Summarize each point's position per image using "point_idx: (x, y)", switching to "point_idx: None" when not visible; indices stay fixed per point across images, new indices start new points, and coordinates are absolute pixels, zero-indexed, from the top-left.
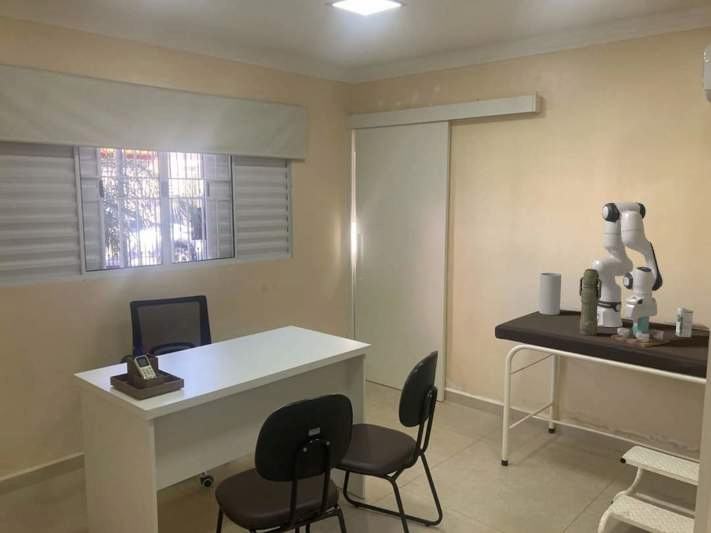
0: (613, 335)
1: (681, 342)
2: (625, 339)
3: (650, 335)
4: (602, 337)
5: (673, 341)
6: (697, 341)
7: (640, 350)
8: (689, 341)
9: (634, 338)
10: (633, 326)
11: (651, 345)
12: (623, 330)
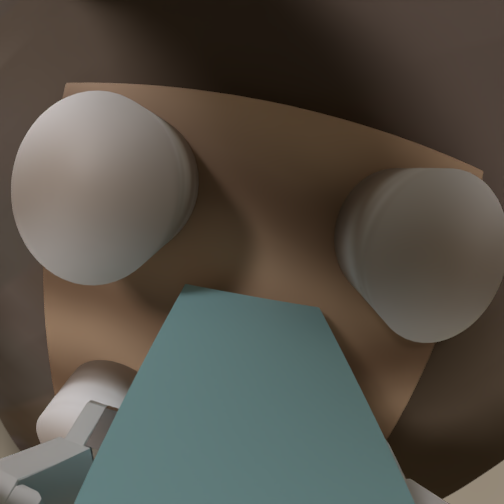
0: (91, 86)
1: (410, 475)
2: (43, 270)
3: (425, 347)
4: (68, 26)
5: (411, 452)
6: (470, 476)
7: (6, 413)
8: (455, 471)
9: (151, 316)
10: (150, 350)
11: None
12: (23, 232)
